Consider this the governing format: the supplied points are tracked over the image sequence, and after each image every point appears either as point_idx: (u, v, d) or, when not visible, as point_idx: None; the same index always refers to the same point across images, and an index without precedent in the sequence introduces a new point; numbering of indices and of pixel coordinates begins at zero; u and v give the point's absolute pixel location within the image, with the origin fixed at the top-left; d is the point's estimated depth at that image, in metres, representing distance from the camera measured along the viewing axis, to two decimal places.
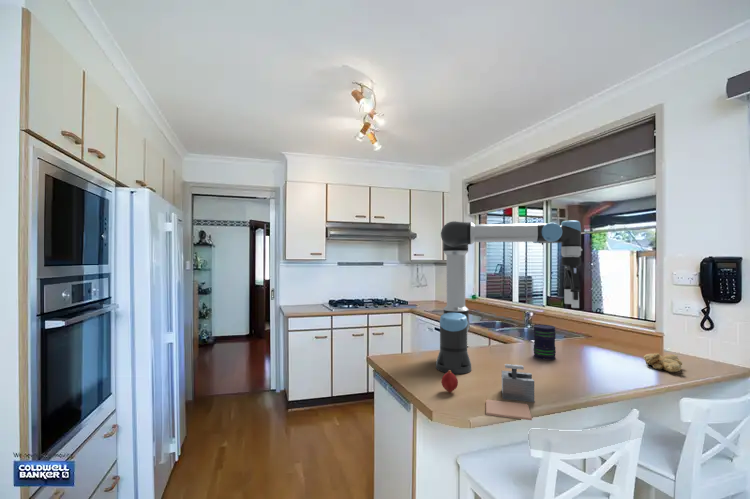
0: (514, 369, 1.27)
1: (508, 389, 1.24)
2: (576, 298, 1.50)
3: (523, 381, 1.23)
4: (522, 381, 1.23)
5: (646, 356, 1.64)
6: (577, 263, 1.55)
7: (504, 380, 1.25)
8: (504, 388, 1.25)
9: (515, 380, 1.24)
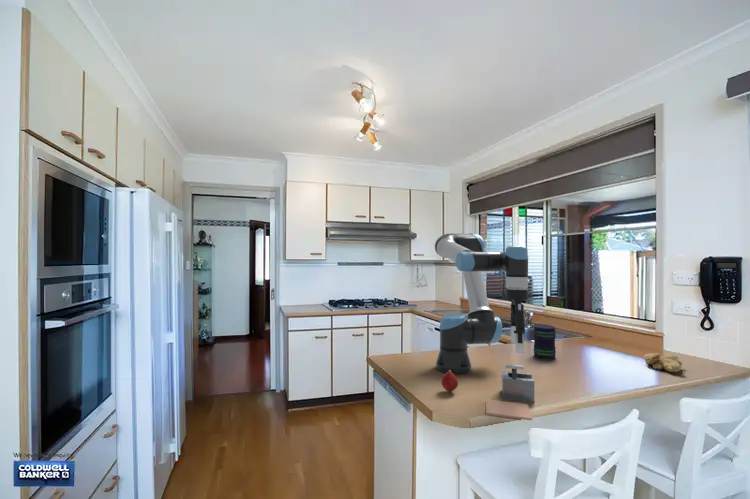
0: (514, 369, 1.27)
1: (508, 389, 1.24)
2: (520, 341, 1.23)
3: (523, 381, 1.23)
4: (522, 381, 1.23)
5: (646, 356, 1.64)
6: (523, 298, 1.28)
7: (504, 380, 1.25)
8: (504, 388, 1.25)
9: (515, 380, 1.24)
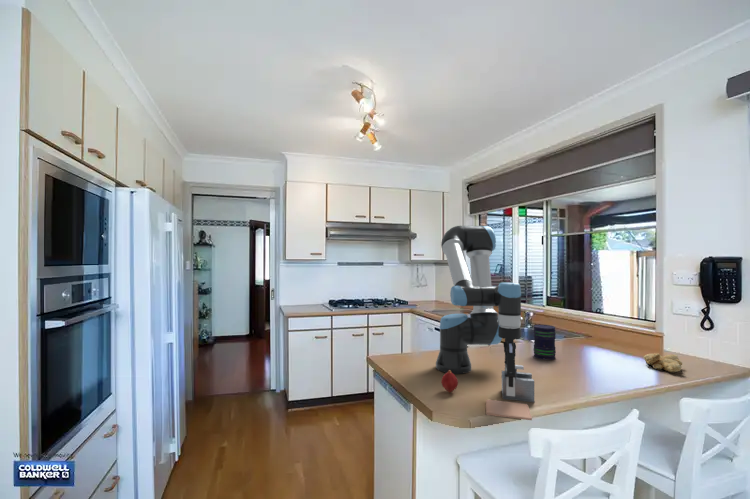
0: None
1: None
2: (511, 385, 1.22)
3: (523, 381, 1.23)
4: (522, 381, 1.23)
5: (646, 356, 1.64)
6: (516, 337, 1.25)
7: (504, 380, 1.25)
8: (504, 388, 1.25)
9: (515, 380, 1.24)
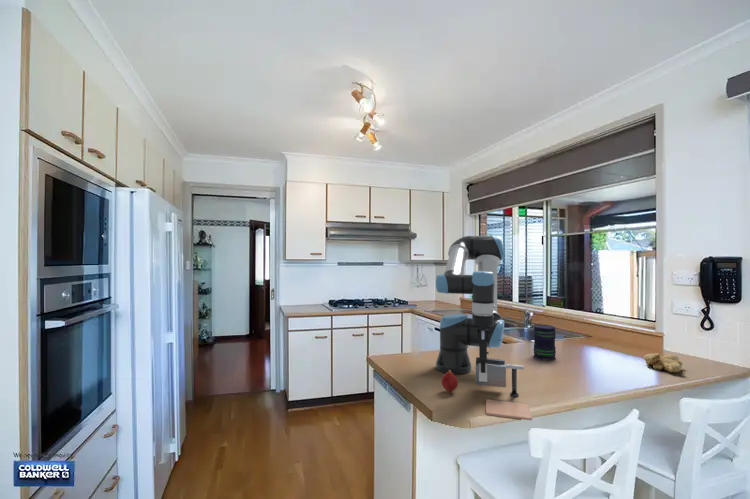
0: (514, 369, 1.27)
1: None
2: (483, 371, 1.26)
3: (495, 367, 1.26)
4: (494, 367, 1.26)
5: (646, 356, 1.64)
6: (488, 324, 1.28)
7: (477, 366, 1.28)
8: (477, 374, 1.28)
9: (487, 366, 1.27)
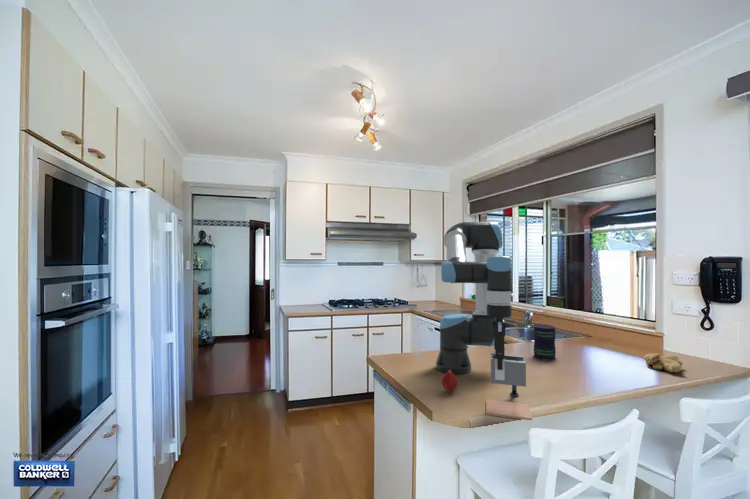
0: None
1: None
2: (500, 367, 1.10)
3: (513, 363, 1.11)
4: (512, 363, 1.11)
5: (646, 356, 1.64)
6: (506, 315, 1.13)
7: (492, 362, 1.13)
8: (492, 371, 1.13)
9: (505, 362, 1.12)
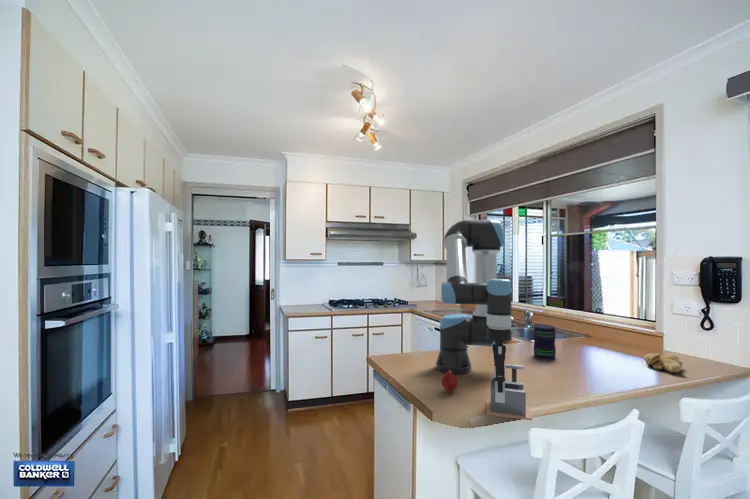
0: (514, 369, 1.27)
1: None
2: (500, 390, 1.08)
3: (513, 392, 1.11)
4: (512, 392, 1.11)
5: (646, 356, 1.64)
6: (506, 339, 1.13)
7: (492, 391, 1.13)
8: (492, 400, 1.13)
9: None
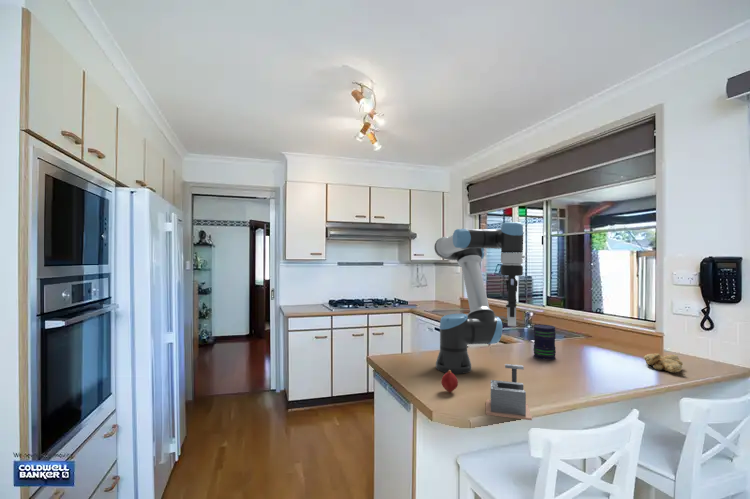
0: (514, 369, 1.27)
1: (497, 401, 1.12)
2: (512, 315, 1.26)
3: (513, 392, 1.11)
4: (512, 392, 1.11)
5: (646, 356, 1.64)
6: (517, 273, 1.30)
7: (492, 391, 1.13)
8: (492, 400, 1.13)
9: (504, 391, 1.12)
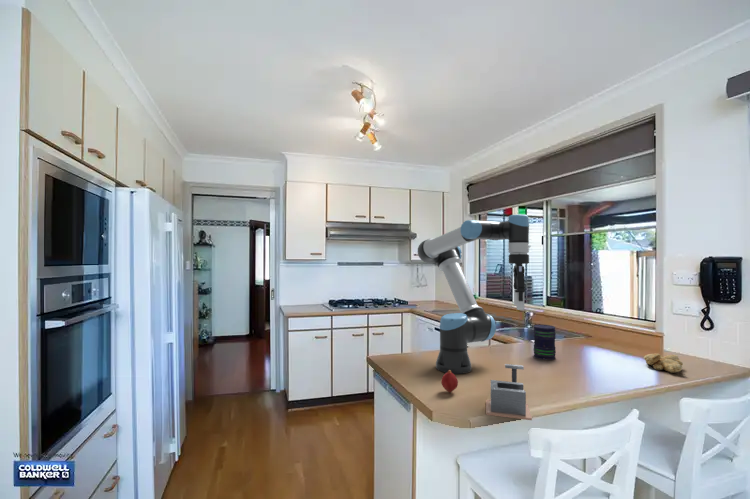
0: (514, 369, 1.27)
1: (497, 401, 1.12)
2: (521, 299, 1.36)
3: (513, 392, 1.11)
4: (512, 392, 1.11)
5: (646, 356, 1.64)
6: (524, 261, 1.41)
7: (492, 391, 1.13)
8: (492, 400, 1.13)
9: (504, 391, 1.12)
